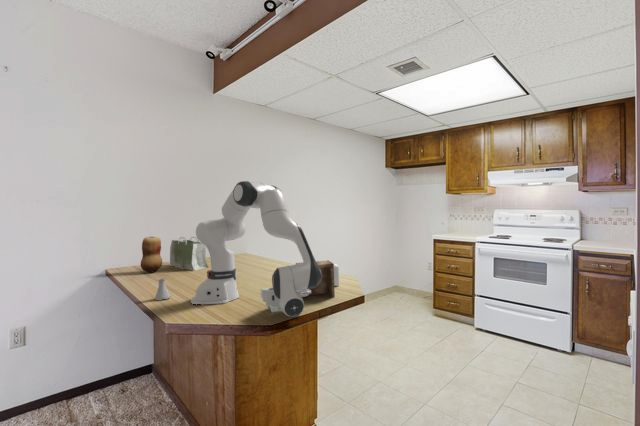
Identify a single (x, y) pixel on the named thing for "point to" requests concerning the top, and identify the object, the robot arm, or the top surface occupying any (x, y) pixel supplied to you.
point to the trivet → (275, 309)
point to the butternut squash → (151, 254)
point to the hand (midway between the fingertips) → (282, 287)
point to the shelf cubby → (324, 279)
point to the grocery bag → (188, 254)
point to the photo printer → (336, 275)
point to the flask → (162, 290)
